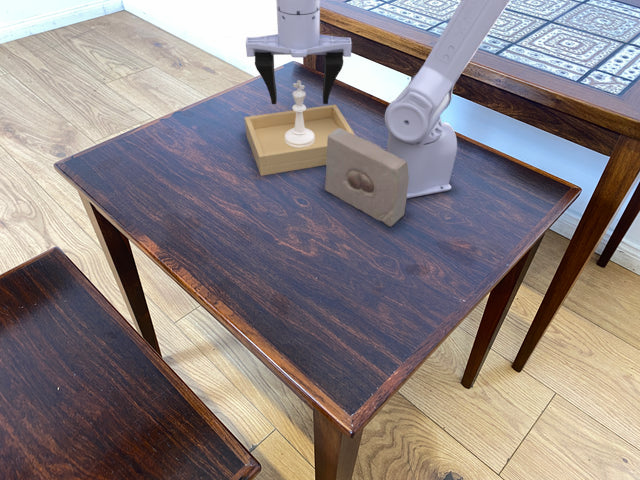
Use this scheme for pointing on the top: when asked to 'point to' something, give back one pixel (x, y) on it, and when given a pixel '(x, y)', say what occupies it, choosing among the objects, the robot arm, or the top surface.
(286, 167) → the wooden tray
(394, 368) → the top surface
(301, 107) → the chess piece
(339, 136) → the fossil
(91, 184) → the top surface
